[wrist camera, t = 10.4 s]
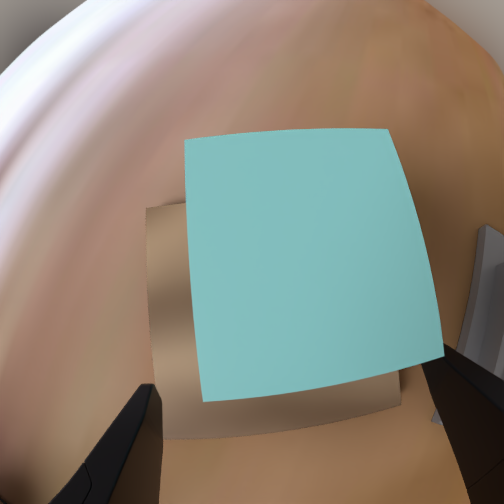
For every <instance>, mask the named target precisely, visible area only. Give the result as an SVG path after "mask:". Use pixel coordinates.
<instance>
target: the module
mask: <svg viewBox="0 0 504 504" xmlns="http://www.w3.org/2000/svg"><path fill="white" fill-rule="evenodd" d="M185 187H186V214H187V235H188V252H189V268H190V282H191V294H192V306H193V318H194V328H195V338H196V348H197V357H198V366H199V374H200V382H201V390H202V398H203V402H209V401H222V400H234V399H244V398H254V397H262V396H270V395H278V394H285V393H291V392H298V391H304V390H310V389H316V388H321V387H327V386H332V385H337V384H342V383H346V382H351V381H356V380H360V379H364V378H369V377H373V376H377V375H381V374H385V373H389V372H392V371H396V370H400V369H403V368H407V367H411V366H414V365H417V364H421V363H424V362H427V361H430V360H434V359H437V358H440V357H443V356H444V348H443V339H442V331H441V324H440V317H439V311H438V305H437V299H436V294H435V288H434V283H433V278H432V273H431V268H430V264H429V259H428V255H427V251H426V247H425V243H424V239H423V235H422V231H421V227H420V223H419V220H418V216H417V213H416V209H415V206H414V203H413V199H412V196H411V193H410V190H409V187H408V184H407V180H406V177H405V175H404V172H403V169H402V166H401V163H400V160H399V158H398V155H397V152H396V149H395V147H394V144H393V142H392V139H391V136H390V134H389V131H388V129H355V128H339V129H299V130H279V131H264V132H251V133H240V134H230V135H220V136H212V137H203V138H196V139H188V140H185Z"/></svg>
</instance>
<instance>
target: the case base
mask: <svg viewBox="0 0 504 504" xmlns="http://www.w3.org/2000/svg"><path fill="white" fill-rule="evenodd" d="M456 351H457V352H459V353H461V354H462V355H464V356H465V357H467V358H469V359H470V360H472V361H474V362H475V363H477V364H478V365H480V366H482V367H483V368H485V369H486V370H488V371H490V372H491V373H493V374H494V375H496V376H498V377H499V378H501V379H502V380H504V235H502V234H501V233H499V232H498V231H496V230H495V229H493V228H492V227H490V226H488V225H487V224H486V225H484V226H483V227H481V228H479V231H478V241H477V249H476V257H475V264H474V271H473V277H472V283H471V288H470V294H469V299H468V304H467V308H466V313H465V317H464V322H463V326H462V330H461V334H460V338H459V341H458V345H457V349H456ZM431 422H434V423H437V424H440V425H443V423H442V421H441V419H440V416H439V414H438V411H437V409H436V411H435V413H434V416H433V418H432V421H431Z"/></svg>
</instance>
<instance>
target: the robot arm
mask: <svg viewBox="0 0 504 504" xmlns="http://www.w3.org/2000/svg"><path fill="white" fill-rule="evenodd" d="M443 348H444V356H443V357H440V358H437V359H434V360H430V361H427V362H424V363H421V365H422V368H423V371H424V374H425V377H426V380H427V383H428V387H429V390H430V393H431V396H432V399H433V402H434V404H435V407H436V409H437V411H438V414H439V416H440V419H441V421H442V423H443V426H444V428H445V431H446V433H447V436H448V439H449V441H450V444H451V446H452V449H453V452H454V454H455V457H456V460H457V463H458V465H459V468H460V471H461V474H462V477H463V480H464V483H465V486H466V489H467V493H468V496H469V499H470V502H471V504H504V380H502V379H501V378H499V377H498V376H496V375H494V374H493V373H491V372H490V371H488V370H486V369H485V368H483V367H482V366H480V365H478V364H477V363H475V362H474V361H472V360H470V359H469V358H467V357H465V356H464V355H462V354H461V353H459V352H457V351H456V350H454V349H452V348H451V347H449V346H448V345H446V344H444V343H443ZM162 454H163V413H162V399H161V397H160V395H159V393H158V391H157V389H156V386H155V385H154V384H141V385H140V386H139V387H138V389H137V390H136V391H135V393H134V394H133V395H132V397H131V398H130V399H129V401H128V402H127V404H126V405H125V406H124V408H123V409H122V410H121V412H120V413H119V414H118V416H117V417H116V418H115V420H114V421H113V422H112V424H111V425H110V427H109V428H108V429H107V431H106V432H105V433H104V435H103V436H102V437H101V439H100V440H99V442H98V443H97V444H96V446H95V447H94V448H93V450H92V451H91V452H90V454H89V455H88V457H87V458H86V459H85V461H84V462H85V463H82V465H81V466H80V467H79V469H78V470H77V471H76V473H75V474H74V475H73V477H72V478H71V479H70V480H69V482H68V483H67V484H66V485H65V486H64V487H63V488H62V490H61V491H60V492H59V493H58V494H57V495H56V496H55V497H54V498H53V499H52V500H51V501H50V502H49V503H48V504H159V491H160V477H161V465H162Z"/></svg>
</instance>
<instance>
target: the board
mask: <svg viewBox="0 0 504 504" xmlns="http://www.w3.org/2000/svg"><path fill="white" fill-rule="evenodd" d="M146 269H147V293H148V311H149V325H150V338H151V349H152V359H153V368H154V377H155V385H156V389H157V391H158V393H159V395H160V397H161V399H162V413H163V439H210V438H226V437H239V436H249V435H259V434H267V433H275V432H282V431H289V430H295V429H301V428H307V427H313V426H318V425H323V424H328V423H333V422H338V421H342V420H347V419H351V418H355V417H359V416H363V415H367V414H371V413H375V412H378V411H382V410H385V409H389V408H392V407H396V406H399V405H401V395H400V382H399V372H398V370H396V371H392V372H389V373H385V374H381V375H377V376H373V377H369V378H364V379H360V380H356V381H351V382H346V383H342V384H337V385H332V386H327V387H321V388H316V389H310V390H304V391H298V392H291V393H285V394H278V395H270V396H262V397H254V398H244V399H234V400H222V401H209V402H203V398H202V390H201V382H200V374H199V366H198V357H197V348H196V338H195V328H194V318H193V306H192V294H191V282H190V268H189V252H188V235H187V214H186V203H180V204H172V205H165V206H157V207H150V208H146Z"/></svg>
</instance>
